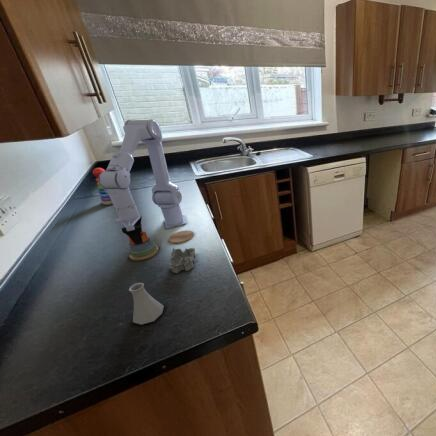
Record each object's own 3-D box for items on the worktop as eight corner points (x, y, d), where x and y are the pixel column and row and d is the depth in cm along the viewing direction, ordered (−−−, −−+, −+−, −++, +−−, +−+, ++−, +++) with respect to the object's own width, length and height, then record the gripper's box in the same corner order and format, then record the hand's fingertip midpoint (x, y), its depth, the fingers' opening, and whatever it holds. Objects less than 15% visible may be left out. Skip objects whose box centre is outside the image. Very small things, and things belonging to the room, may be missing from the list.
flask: (168, 304, 77) (157, 276, 72) (155, 324, 71) (142, 296, 66) (143, 305, 77) (130, 277, 72) (127, 325, 70) (112, 297, 66)
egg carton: (175, 256, 98) (172, 247, 96) (198, 253, 99) (195, 243, 97) (168, 275, 88) (164, 265, 86) (193, 270, 90) (190, 260, 88)
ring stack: (130, 251, 101) (122, 233, 98) (158, 243, 105) (151, 226, 102) (129, 263, 94) (121, 245, 91) (159, 255, 98) (152, 237, 95)
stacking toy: (99, 206, 138) (83, 171, 129) (106, 200, 145) (91, 166, 136) (117, 204, 140) (102, 169, 131) (122, 198, 147) (109, 164, 138)
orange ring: (130, 239, 98) (128, 234, 97) (147, 235, 100) (145, 230, 99) (130, 246, 94) (128, 241, 93) (148, 241, 96) (146, 236, 95)
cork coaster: (168, 235, 111) (168, 234, 111) (192, 229, 115) (191, 228, 115) (170, 245, 104) (169, 244, 104) (195, 238, 108) (194, 238, 108)
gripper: (112, 200, 94) (126, 233, 101) (108, 216, 83) (124, 252, 90) (136, 196, 97) (148, 228, 104) (135, 211, 86) (149, 246, 93)
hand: (139, 239), depth 97 cm, fingers closed on orange ring, 5 cm apart
